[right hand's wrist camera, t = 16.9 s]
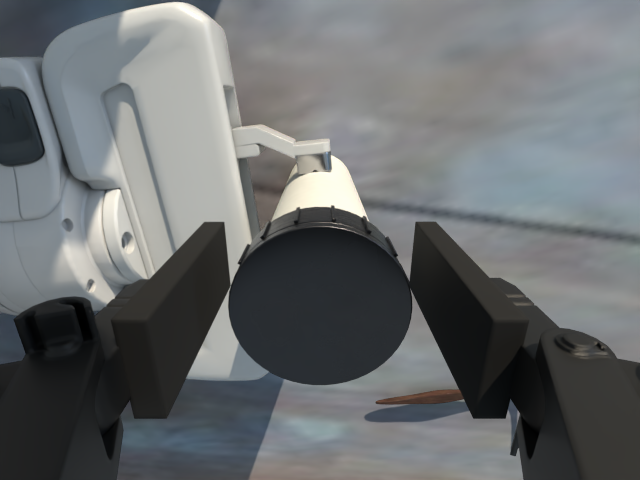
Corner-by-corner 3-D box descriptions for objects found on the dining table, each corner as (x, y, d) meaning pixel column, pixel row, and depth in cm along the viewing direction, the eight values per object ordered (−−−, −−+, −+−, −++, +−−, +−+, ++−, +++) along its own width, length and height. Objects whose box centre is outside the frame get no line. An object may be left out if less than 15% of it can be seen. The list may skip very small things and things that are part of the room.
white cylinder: (276, 173, 25) (216, 273, 11) (332, 141, 25) (352, 201, 10) (308, 225, 27) (294, 379, 12) (362, 197, 26) (418, 324, 11)
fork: (374, 386, 32) (377, 404, 30) (558, 370, 31) (573, 387, 29) (375, 409, 33) (379, 427, 31) (554, 393, 32) (569, 411, 30)
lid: (286, 367, 13) (281, 408, 11) (209, 247, 12) (190, 273, 10) (422, 313, 12) (439, 349, 11) (361, 175, 11) (370, 191, 9)
